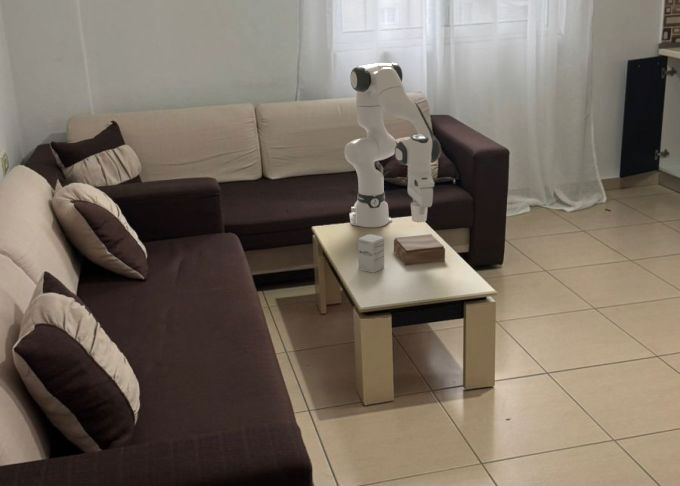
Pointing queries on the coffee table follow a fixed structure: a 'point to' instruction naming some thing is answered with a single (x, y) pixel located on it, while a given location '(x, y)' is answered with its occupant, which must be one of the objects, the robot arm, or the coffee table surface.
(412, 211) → the white cylinder
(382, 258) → the supplement box
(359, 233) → the coffee table surface
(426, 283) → the coffee table surface
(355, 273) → the coffee table surface
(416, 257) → the walnut box
